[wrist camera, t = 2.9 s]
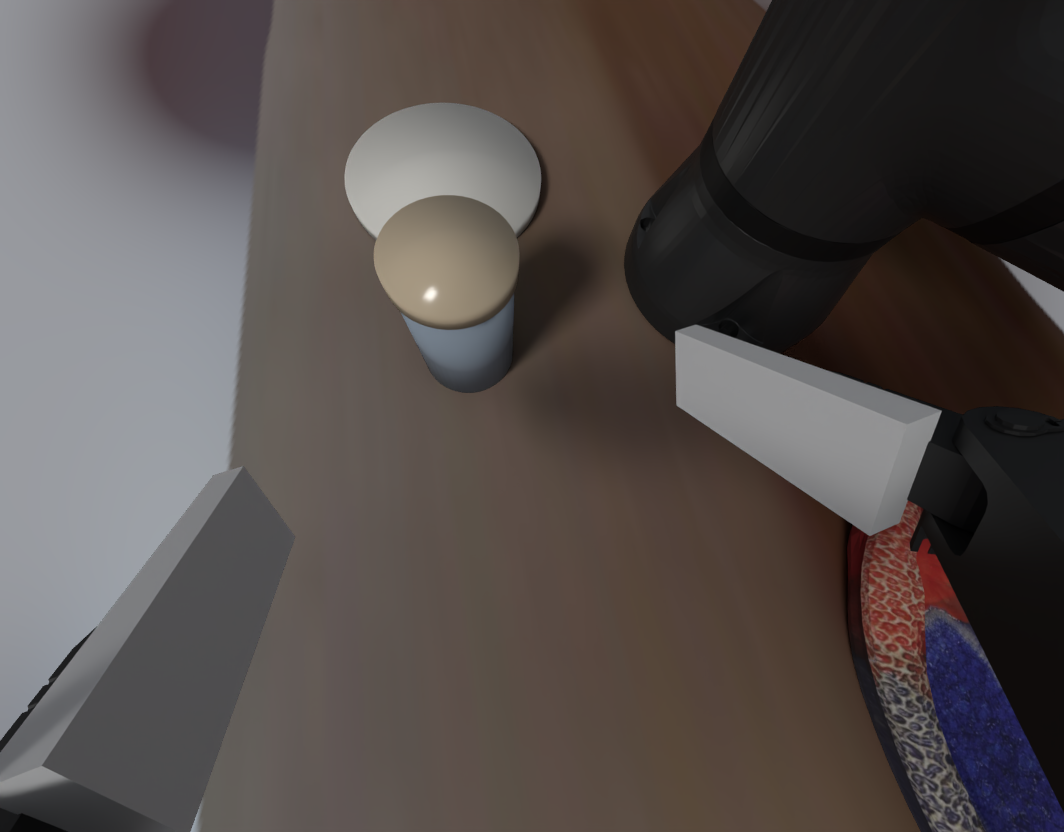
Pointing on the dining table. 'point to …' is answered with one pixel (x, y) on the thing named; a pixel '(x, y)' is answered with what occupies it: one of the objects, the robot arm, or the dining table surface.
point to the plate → (442, 164)
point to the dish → (938, 694)
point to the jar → (453, 286)
